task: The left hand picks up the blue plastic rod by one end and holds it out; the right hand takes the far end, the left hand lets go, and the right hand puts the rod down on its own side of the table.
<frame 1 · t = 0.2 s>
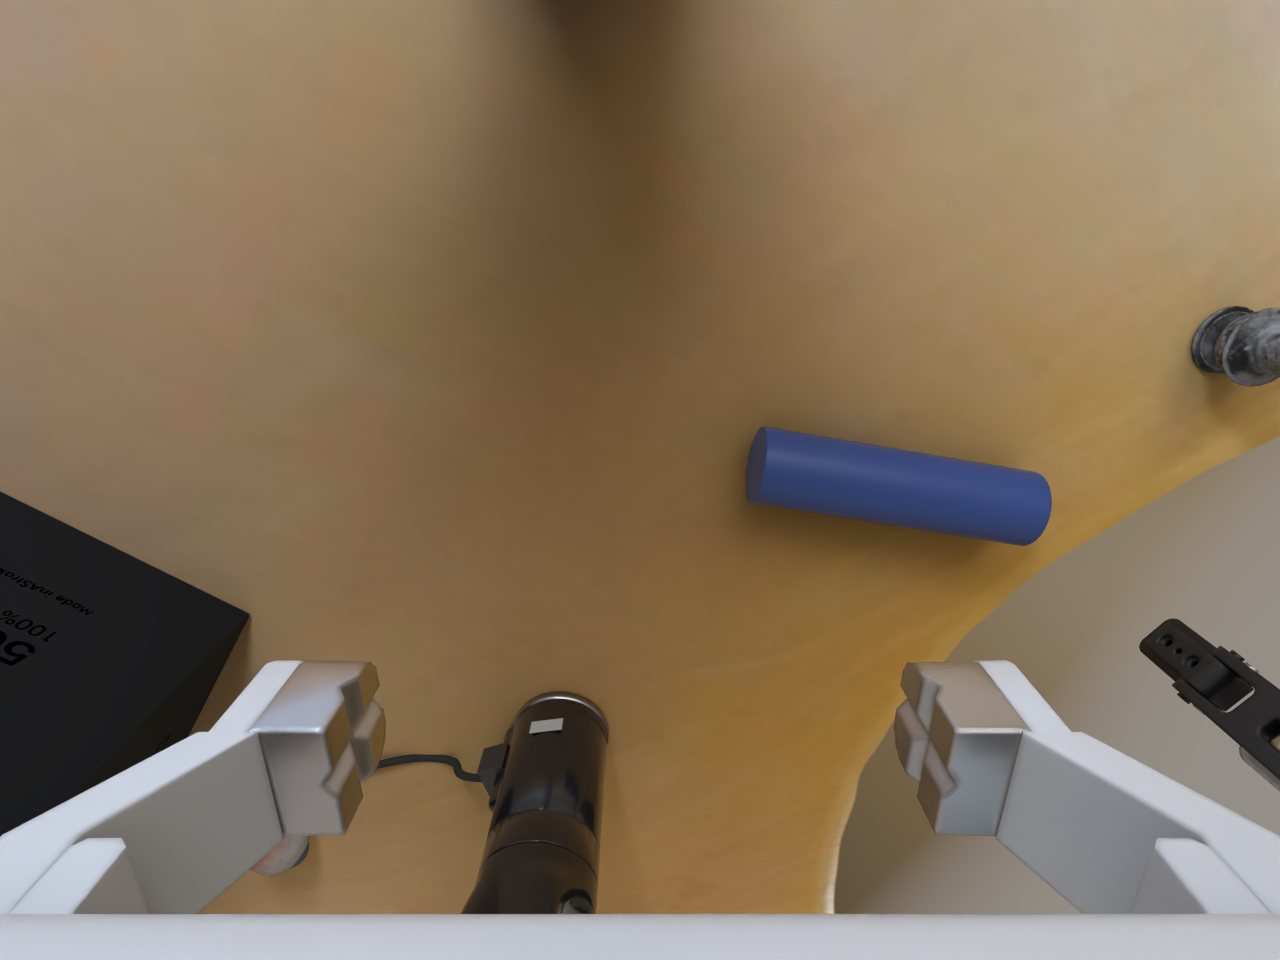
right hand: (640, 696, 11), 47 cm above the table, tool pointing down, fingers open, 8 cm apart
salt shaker: (1224, 339, 55), on the table
rod: (880, 473, 59), on the table
eyeball: (292, 816, 73), on the table
cardboard box: (16, 597, 63), on the table
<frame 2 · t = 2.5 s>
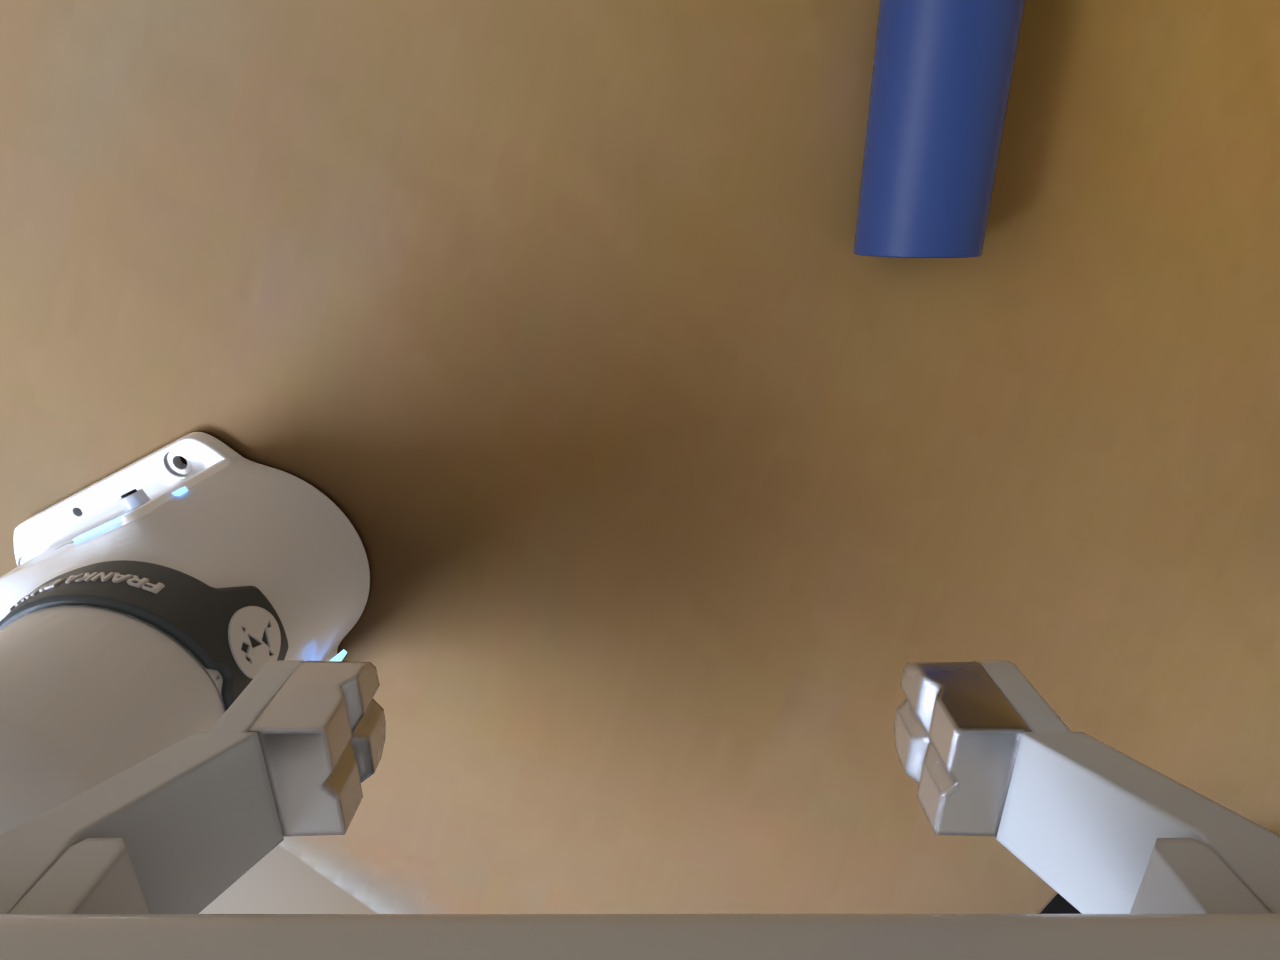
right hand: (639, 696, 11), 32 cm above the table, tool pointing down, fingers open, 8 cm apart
rod: (925, 9, 34), on the table, touching left hand
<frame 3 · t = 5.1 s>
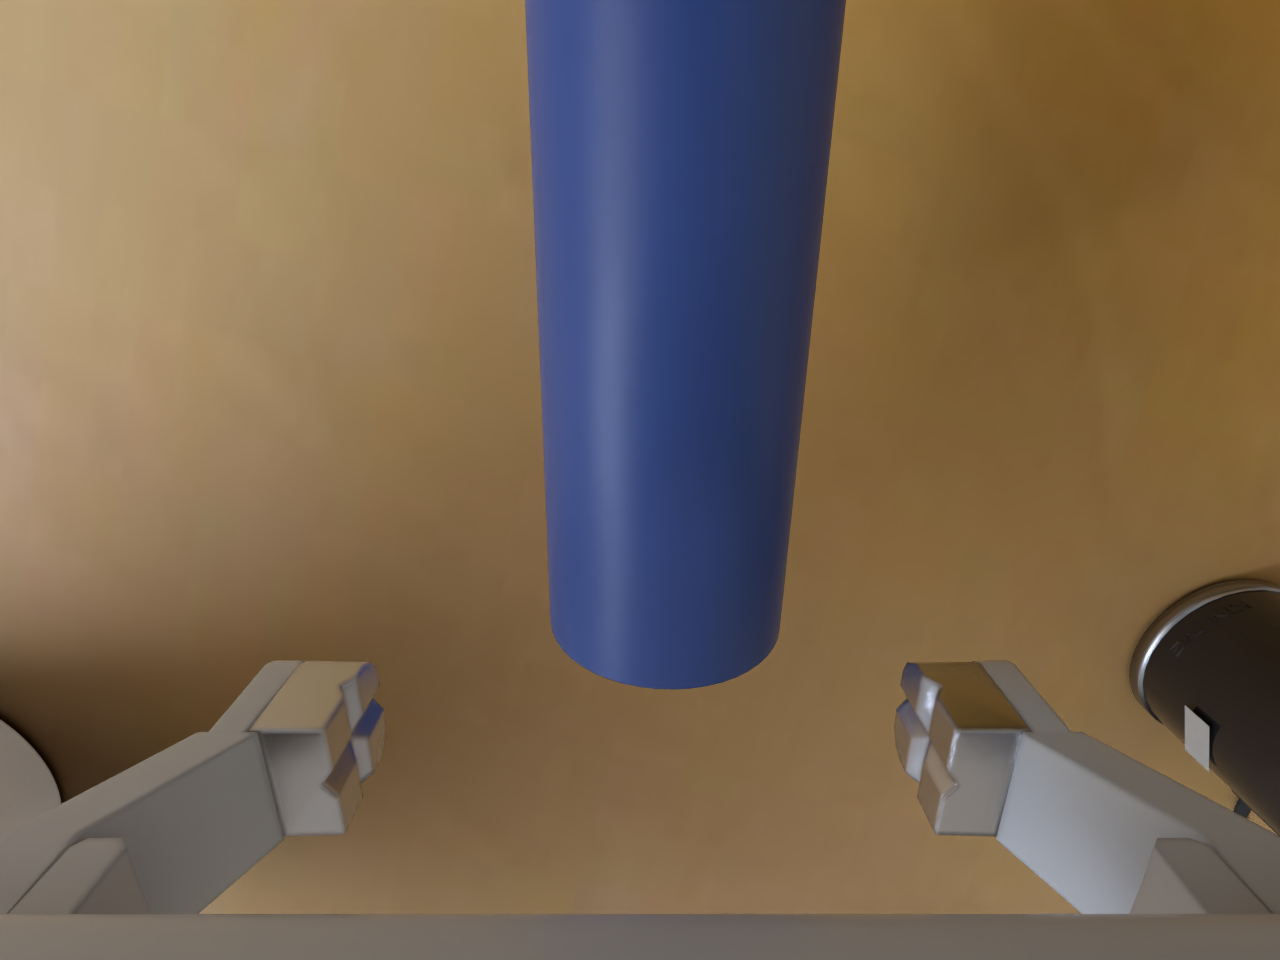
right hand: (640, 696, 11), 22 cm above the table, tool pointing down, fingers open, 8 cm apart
rod: (668, 160, 17), point 11 cm above the table, touching left hand
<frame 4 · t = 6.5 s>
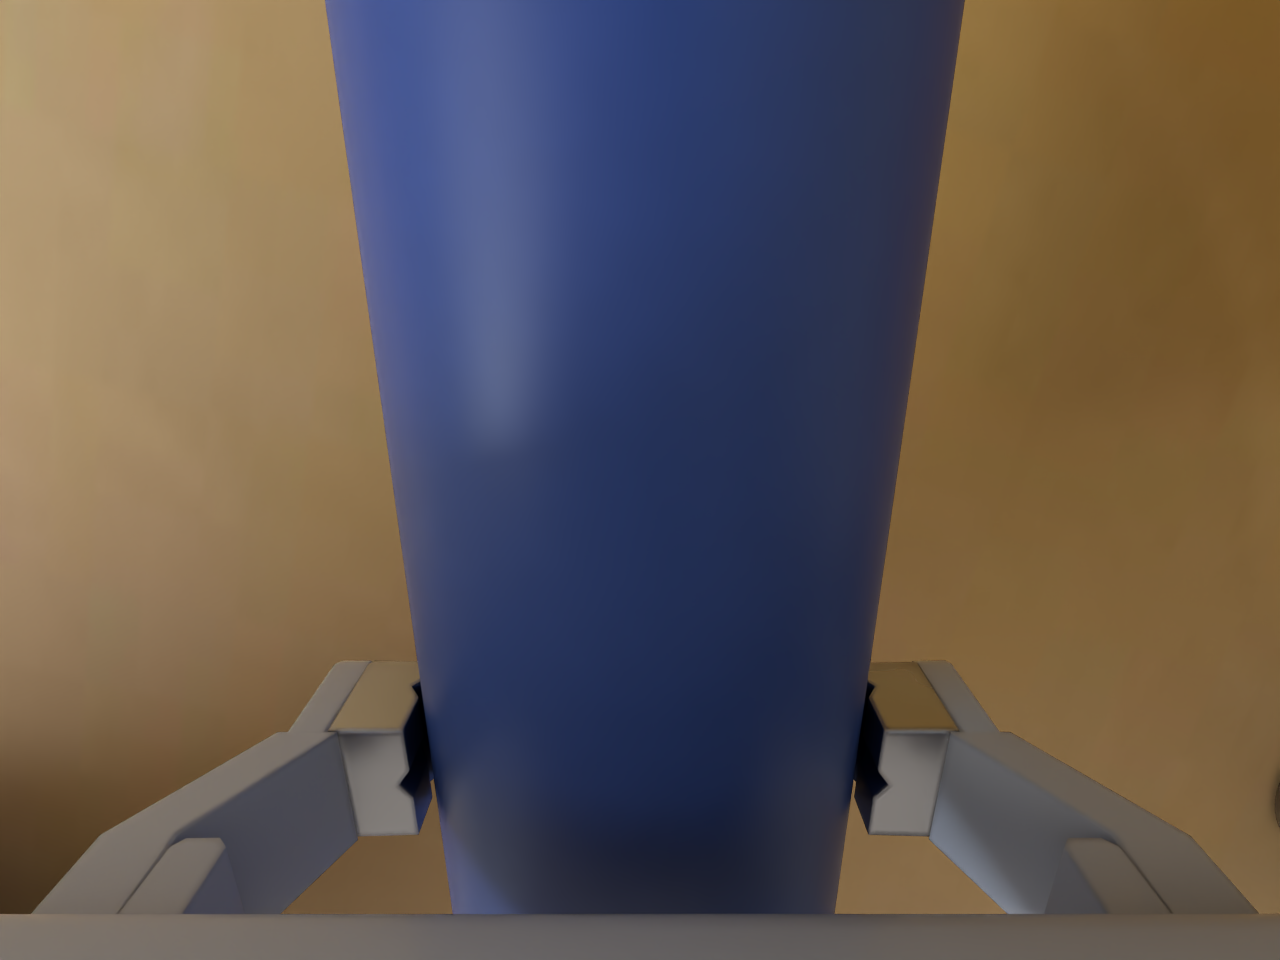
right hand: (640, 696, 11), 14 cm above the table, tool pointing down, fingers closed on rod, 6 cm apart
rod: (642, 116, 10), point 11 cm above the table, touching right hand, left hand
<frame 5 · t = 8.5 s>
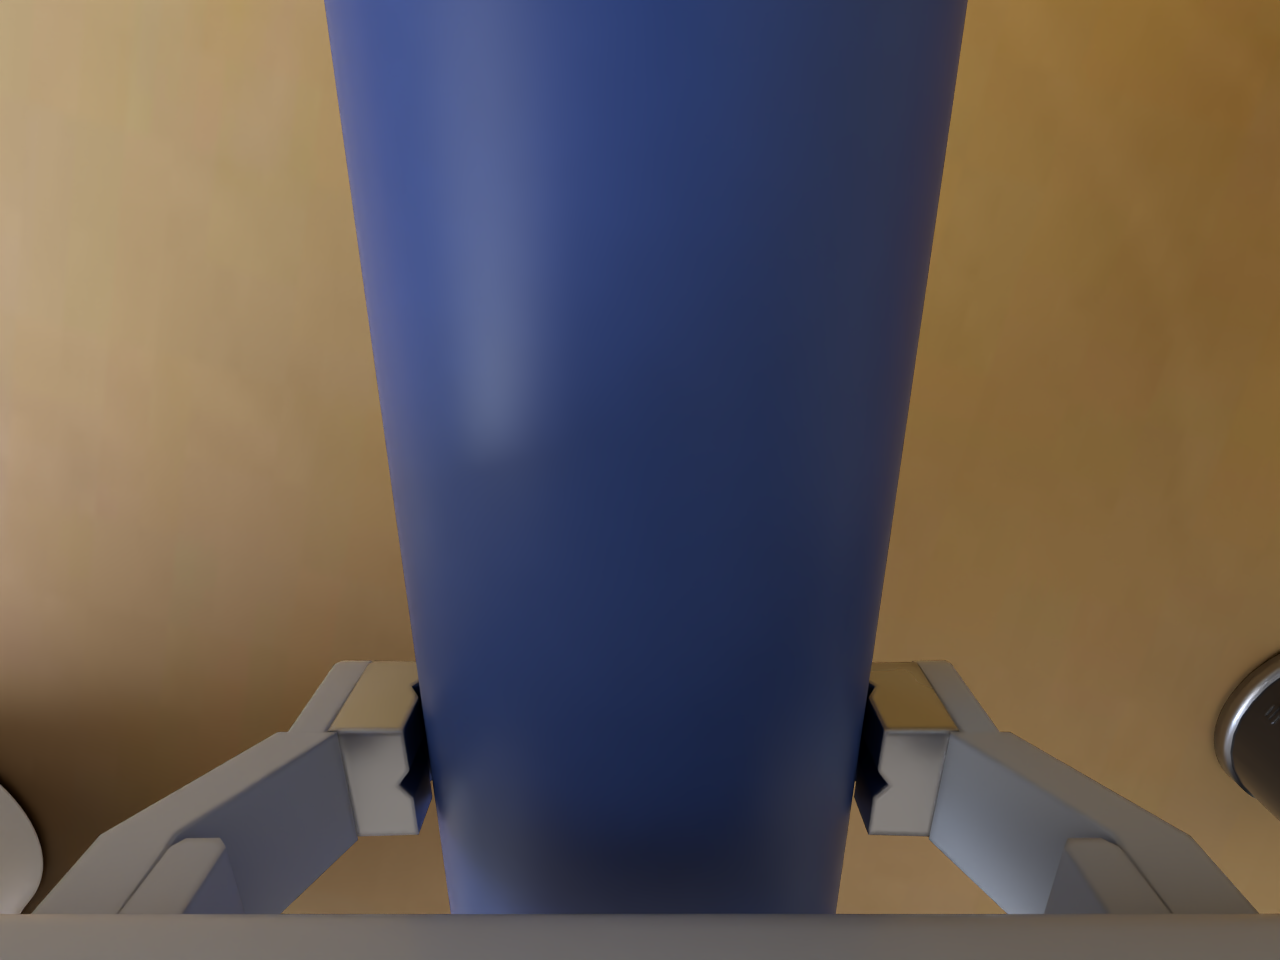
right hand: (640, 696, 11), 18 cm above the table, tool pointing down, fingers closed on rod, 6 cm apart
rod: (643, 119, 10), point 16 cm above the table, touching right hand
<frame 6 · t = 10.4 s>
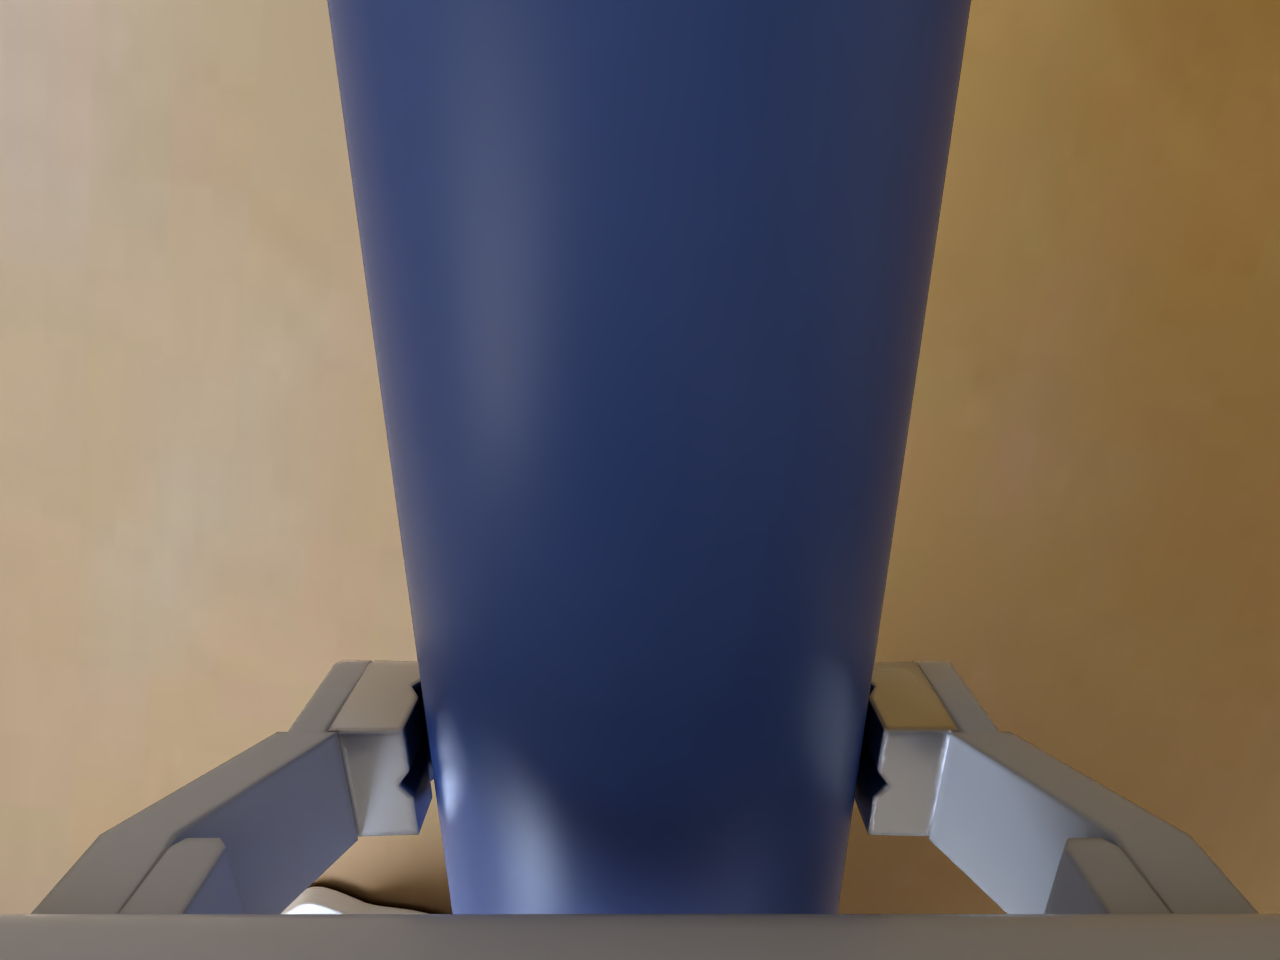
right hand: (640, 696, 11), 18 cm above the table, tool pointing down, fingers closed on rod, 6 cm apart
rod: (645, 117, 10), point 16 cm above the table, touching right hand
when the right hand's fingers open (4 cm above the table, at t = 14.2 s): rod stays where it is, on the table.
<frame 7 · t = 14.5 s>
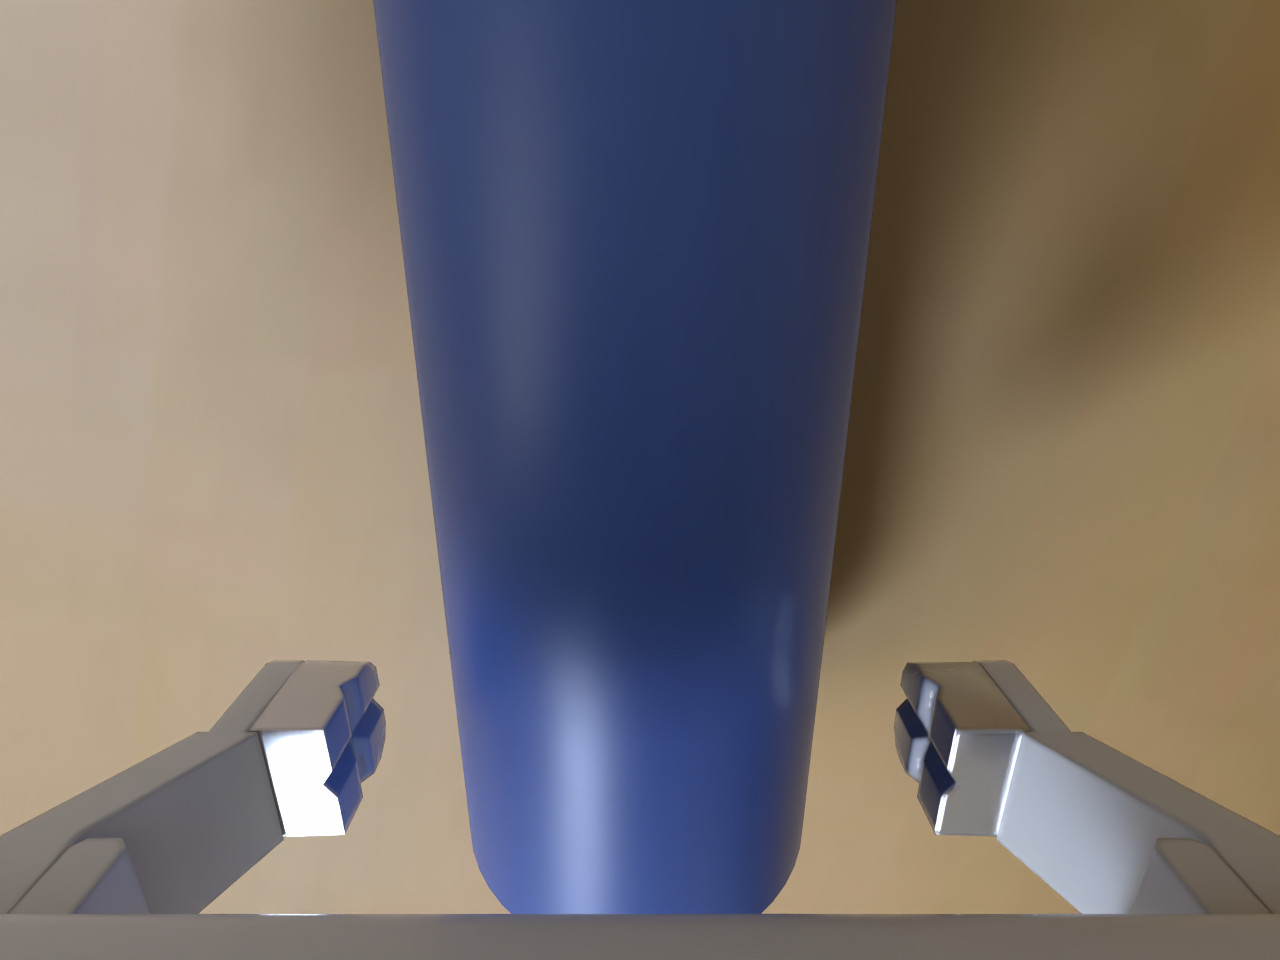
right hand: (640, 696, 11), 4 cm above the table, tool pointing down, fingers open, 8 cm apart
rod: (634, 149, 12), on the table
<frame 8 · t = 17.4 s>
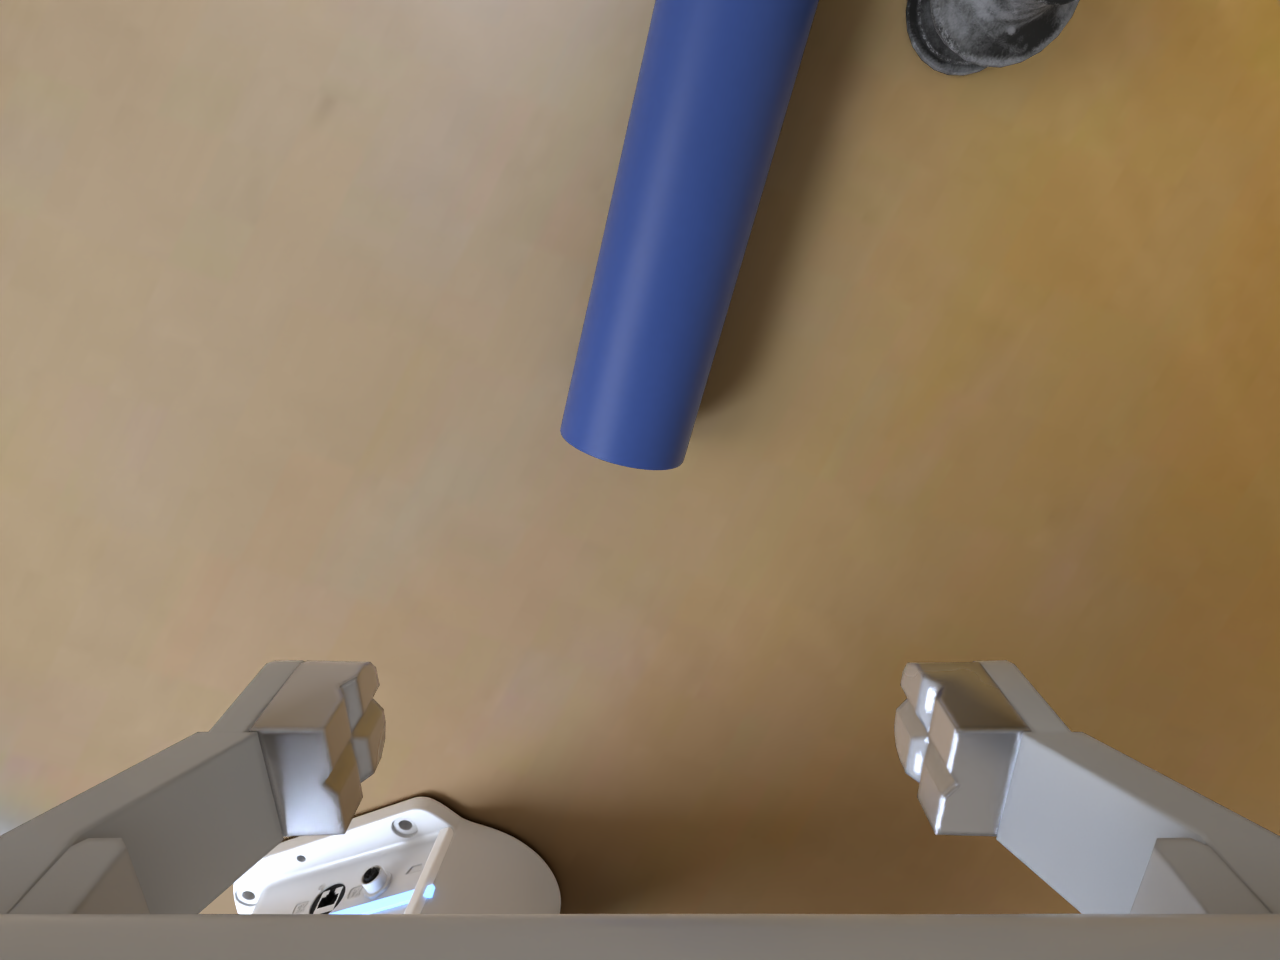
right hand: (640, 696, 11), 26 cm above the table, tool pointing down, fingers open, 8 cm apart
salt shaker: (965, 6, 30), on the table
rod: (681, 199, 32), on the table
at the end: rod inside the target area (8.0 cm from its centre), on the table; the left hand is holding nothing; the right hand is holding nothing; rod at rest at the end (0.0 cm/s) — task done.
